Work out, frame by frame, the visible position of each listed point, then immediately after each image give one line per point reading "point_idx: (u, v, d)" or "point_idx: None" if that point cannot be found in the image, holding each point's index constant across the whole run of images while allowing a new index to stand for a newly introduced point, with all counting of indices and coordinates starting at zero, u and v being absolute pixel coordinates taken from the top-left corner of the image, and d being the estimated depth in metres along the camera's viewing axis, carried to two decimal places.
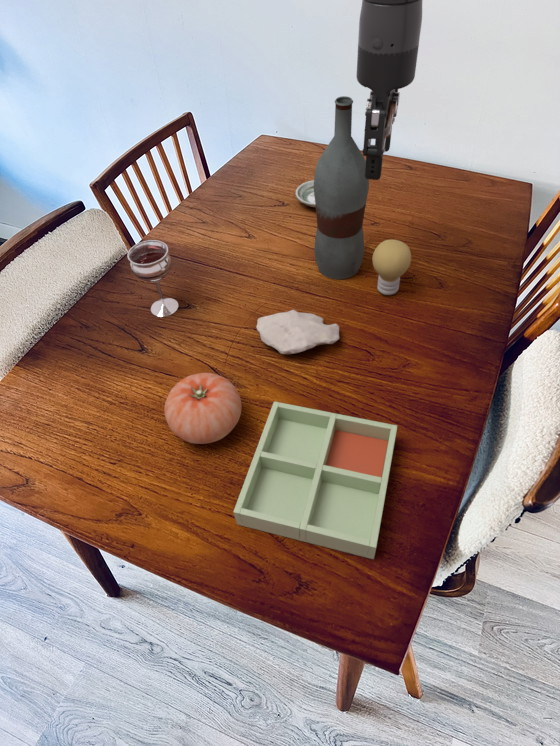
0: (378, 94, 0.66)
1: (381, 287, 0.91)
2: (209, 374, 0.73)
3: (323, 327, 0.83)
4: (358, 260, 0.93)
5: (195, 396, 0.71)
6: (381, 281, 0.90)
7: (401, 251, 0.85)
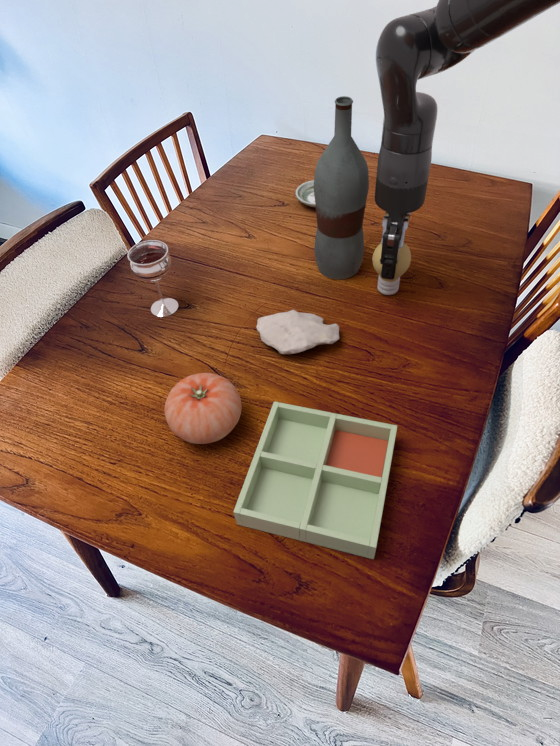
0: (393, 216, 0.78)
1: (381, 287, 0.91)
2: (209, 374, 0.73)
3: (323, 327, 0.83)
4: (358, 260, 0.93)
5: (195, 397, 0.71)
6: (381, 281, 0.90)
7: (401, 251, 0.85)
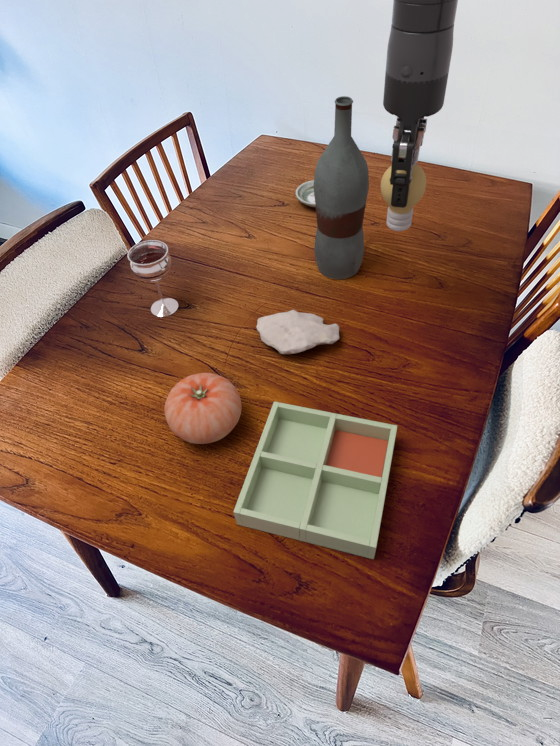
0: (406, 122, 0.64)
1: (391, 221, 0.78)
2: (209, 374, 0.73)
3: (323, 327, 0.83)
4: (358, 260, 0.93)
5: (195, 396, 0.71)
6: (391, 213, 0.77)
7: (415, 173, 0.71)
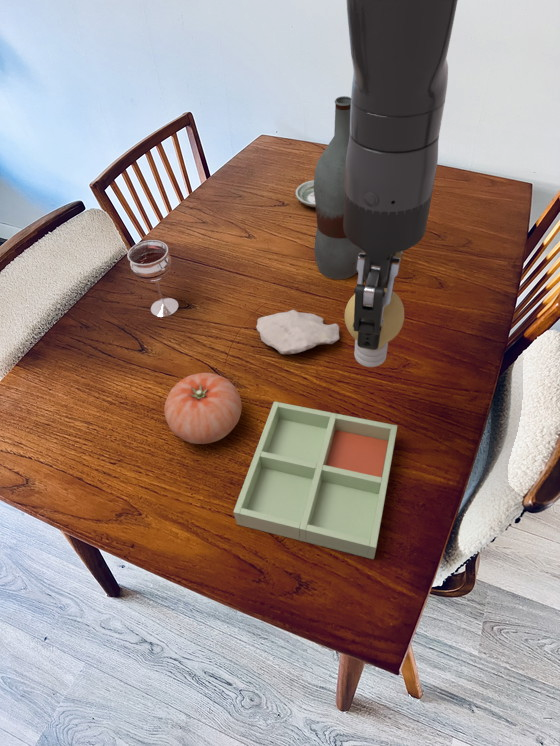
0: (373, 257, 0.46)
1: (359, 356, 0.60)
2: (209, 374, 0.73)
3: (323, 327, 0.83)
4: None
5: (195, 396, 0.71)
6: (359, 348, 0.59)
7: (388, 307, 0.53)
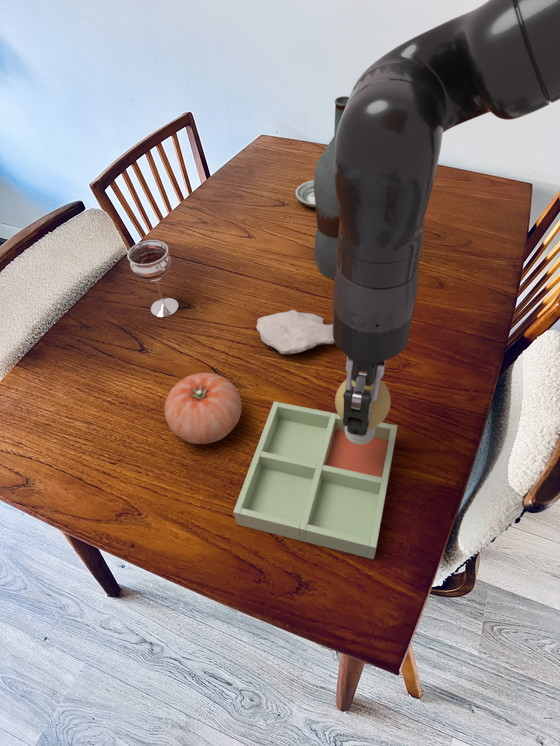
0: (360, 366, 0.50)
1: (349, 435, 0.64)
2: (209, 374, 0.73)
3: (323, 327, 0.83)
4: None
5: (195, 396, 0.71)
6: None
7: None
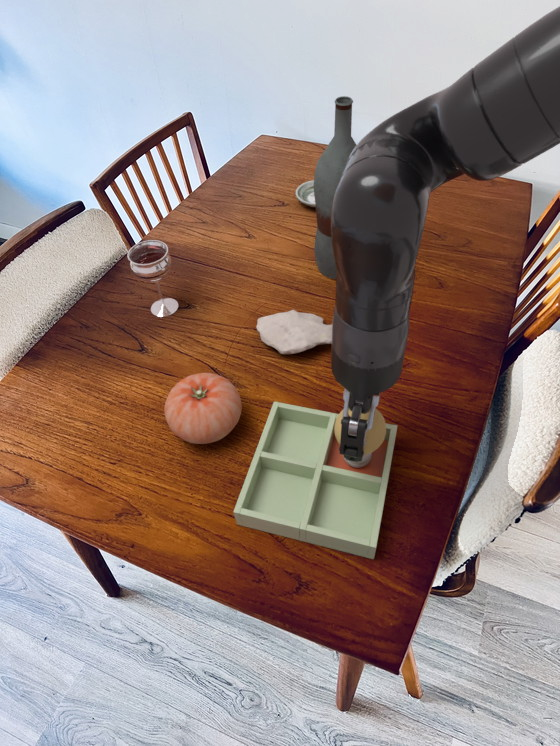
0: (357, 397, 0.54)
1: None
2: (209, 374, 0.73)
3: (323, 327, 0.83)
4: None
5: (195, 397, 0.71)
6: None
7: (372, 426, 0.62)
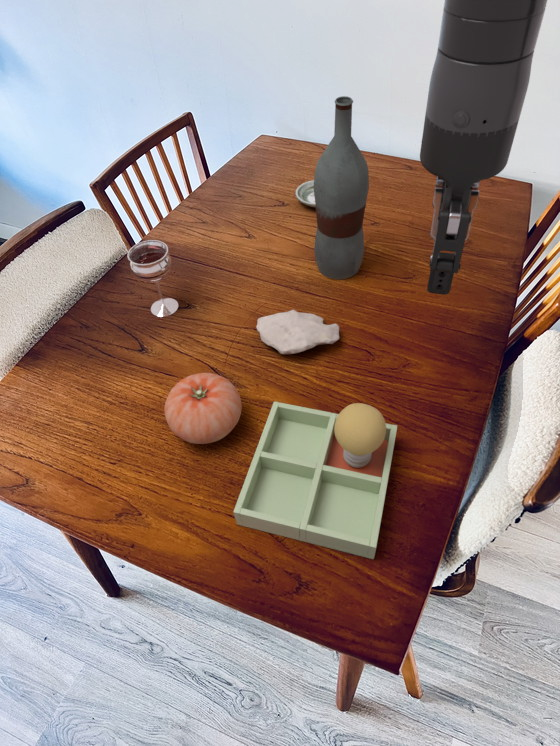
0: (456, 187, 0.45)
1: (347, 459, 0.68)
2: (209, 374, 0.73)
3: (323, 327, 0.83)
4: (358, 260, 0.93)
5: (195, 397, 0.71)
6: (347, 453, 0.67)
7: (372, 427, 0.62)
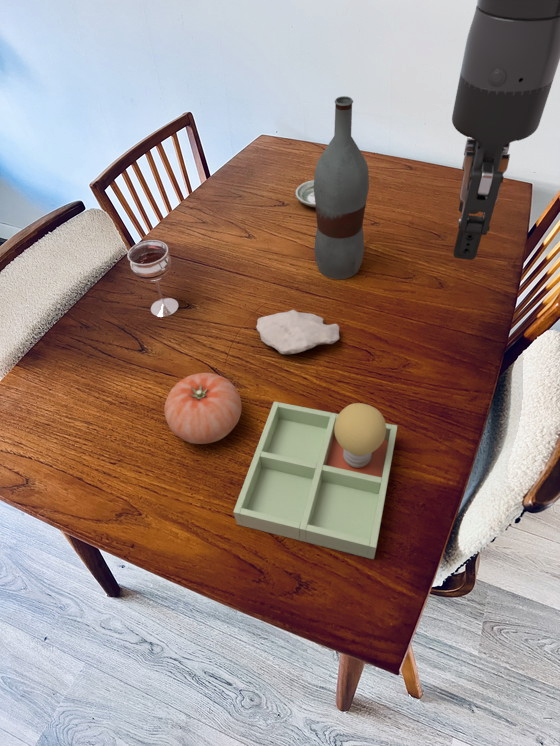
0: (488, 148, 0.45)
1: (347, 459, 0.68)
2: (209, 374, 0.73)
3: (323, 327, 0.83)
4: (358, 260, 0.93)
5: (195, 397, 0.71)
6: (347, 453, 0.67)
7: (372, 427, 0.62)
